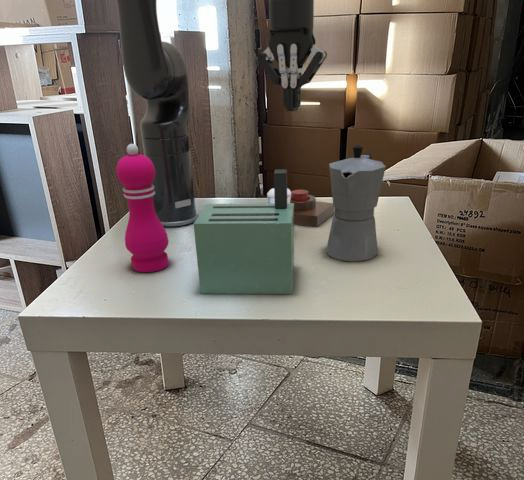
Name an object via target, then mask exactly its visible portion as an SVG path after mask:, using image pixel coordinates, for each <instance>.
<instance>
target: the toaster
mask: <svg viewBox="0 0 524 480" xmlns="http://www.w3.org/2000/svg"><path fill="white" fill-rule="evenodd" d="M192 225H193V232H194V233H193V234H194V242H195V252H196V261H197V262H196V263H197V271H198V280H199V290H200V294H204V295H205V294H207V295H208V294H211V295H213V294H217V295H223V294H227V295H230V294H231V295H232V294H233V295H234V294H235V295H293V285H294V275H295V224H294V203H287V208H275V203H268V202H265V203H257V202H256V203H205V205H204V206H203V208H202V210H201V211H200V212H199V214H198V215H197V219H196V220H195V222H193V224H192Z"/></svg>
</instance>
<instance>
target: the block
mask: <svg viewBox="0 0 524 480" xmlns="http://www.w3.org/2000/svg"><path fill="white" fill-rule="evenodd" d="M291 203H294V225H299V226H305V227H315V228H318V227H319V226H320V225H322V224H323V223H324V222H326V221H327V220H328V219H329V218H331V216H332V217H333V216H334V212H335V207H334V205H333V202H325V201H324V202H323V201H317V198H316V196H315V195H312V194H309V195H308V200H305V201H293V200H291Z"/></svg>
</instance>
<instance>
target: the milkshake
mask: <svg viewBox="0 0 524 480" xmlns="http://www.w3.org/2000/svg"><path fill="white" fill-rule="evenodd" d="M291 192H292V190H291V189H290V188H288V187H287V203H291ZM266 196H267V203H275V195H274V187H272V188H271V189H269V191H268V192H267V193H266Z"/></svg>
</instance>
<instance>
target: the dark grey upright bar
mask: <svg viewBox="0 0 524 480" xmlns="http://www.w3.org/2000/svg"><path fill="white" fill-rule="evenodd" d="M273 186H274V187H273V188H274V195H275V208H287V188H288V169H287V168H286V169H285V168H283V169H282V168H281V169H277V168H276V169H275V170H274V173H273Z"/></svg>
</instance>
